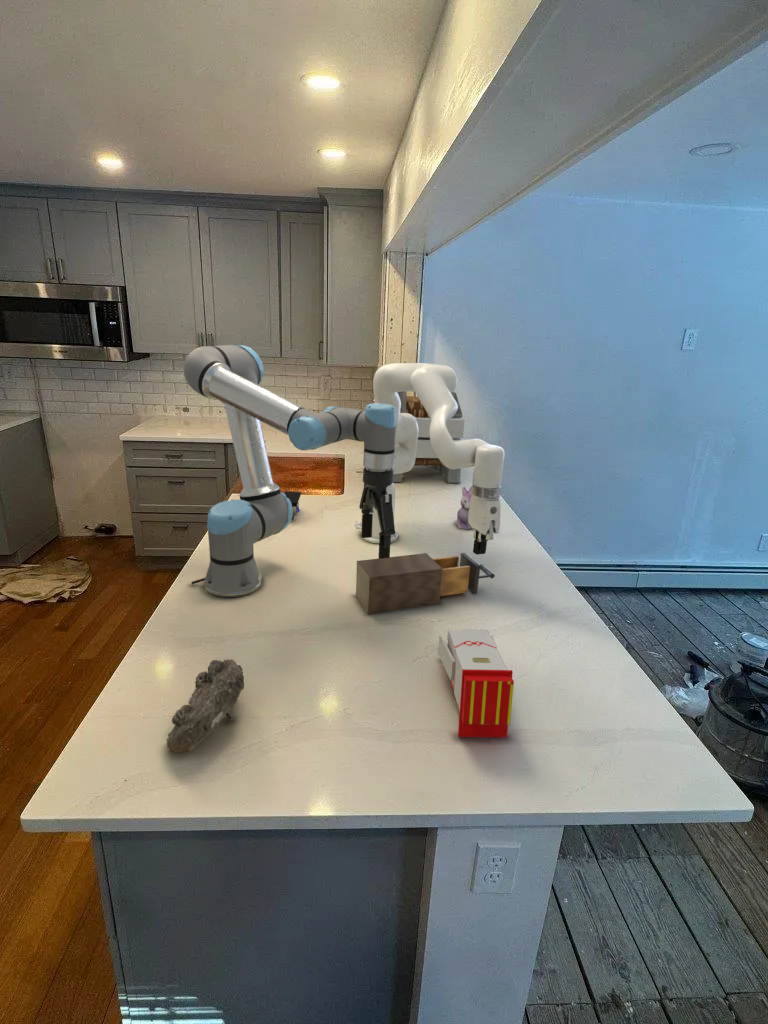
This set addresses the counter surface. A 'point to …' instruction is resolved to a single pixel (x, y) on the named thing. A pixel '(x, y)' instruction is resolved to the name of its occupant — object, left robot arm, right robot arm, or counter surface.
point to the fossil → (206, 705)
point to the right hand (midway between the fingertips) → (479, 553)
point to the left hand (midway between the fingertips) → (374, 547)
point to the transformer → (424, 447)
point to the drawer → (460, 574)
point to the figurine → (464, 509)
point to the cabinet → (398, 583)
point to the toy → (478, 682)
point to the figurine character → (294, 501)
